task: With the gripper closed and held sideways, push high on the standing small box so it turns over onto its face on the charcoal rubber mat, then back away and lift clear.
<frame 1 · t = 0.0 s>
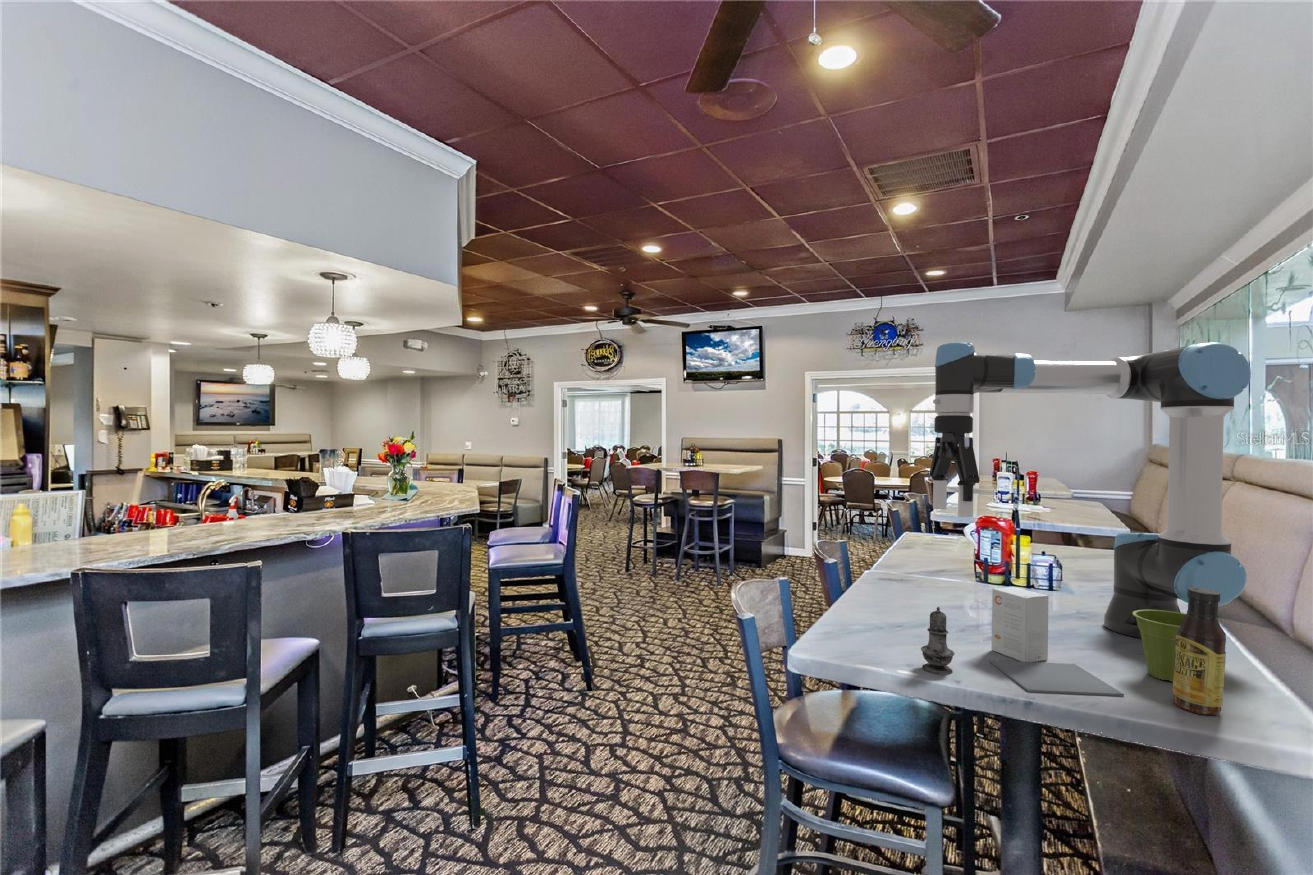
hand: (951, 513, 133), 28 cm above the table, tool pointing down, fingers open, 13 cm apart
sauce bottle: (1197, 710, 101), on the table
rubber mat: (1052, 678, 113), on the table
small box: (1018, 656, 125), on the table
salt shaker: (937, 670, 117), on the table
plant pot: (1171, 678, 115), on the table
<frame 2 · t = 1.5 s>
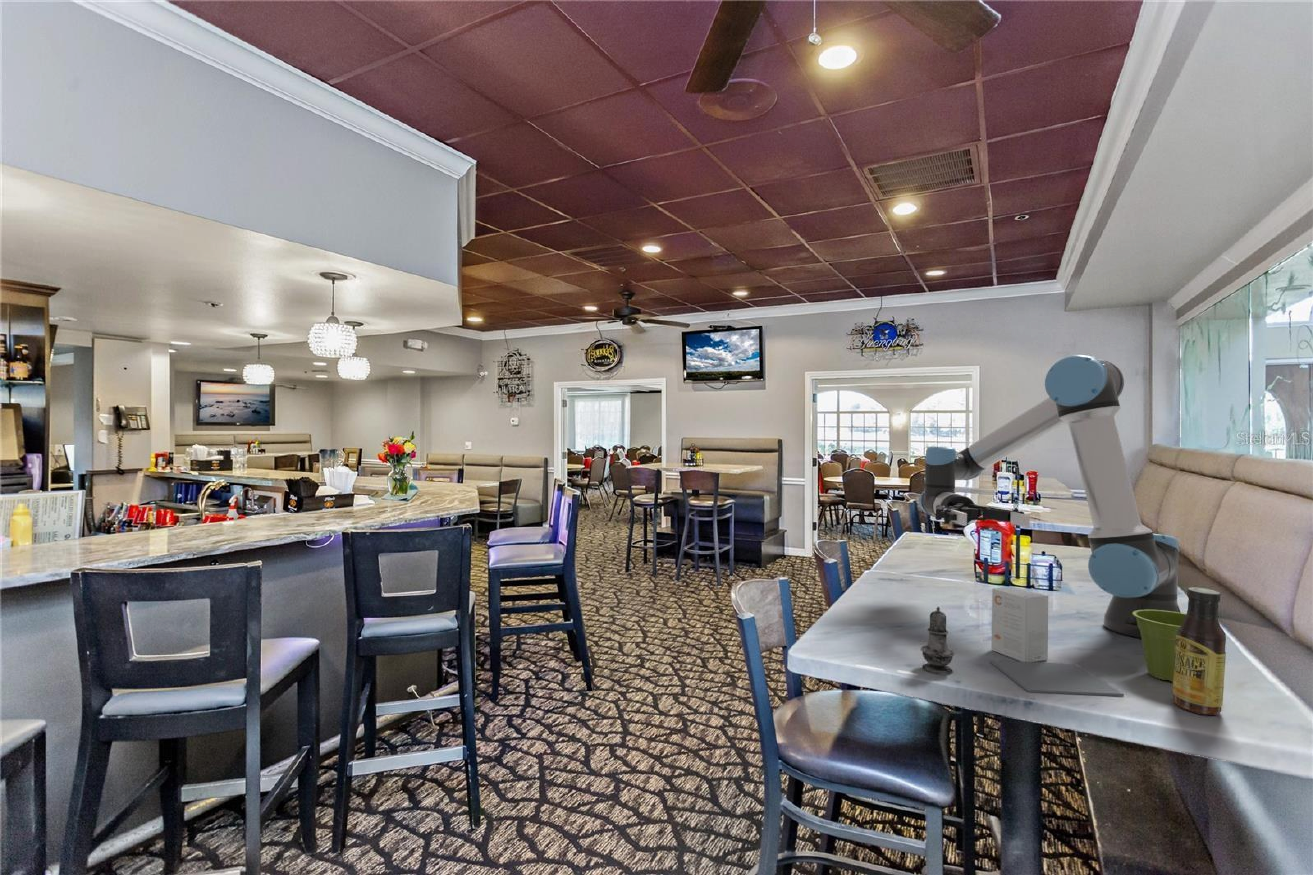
hand: (996, 520, 136), 26 cm above the table, tool horizontal, fingers open, 13 cm apart
nothing on the table moved.
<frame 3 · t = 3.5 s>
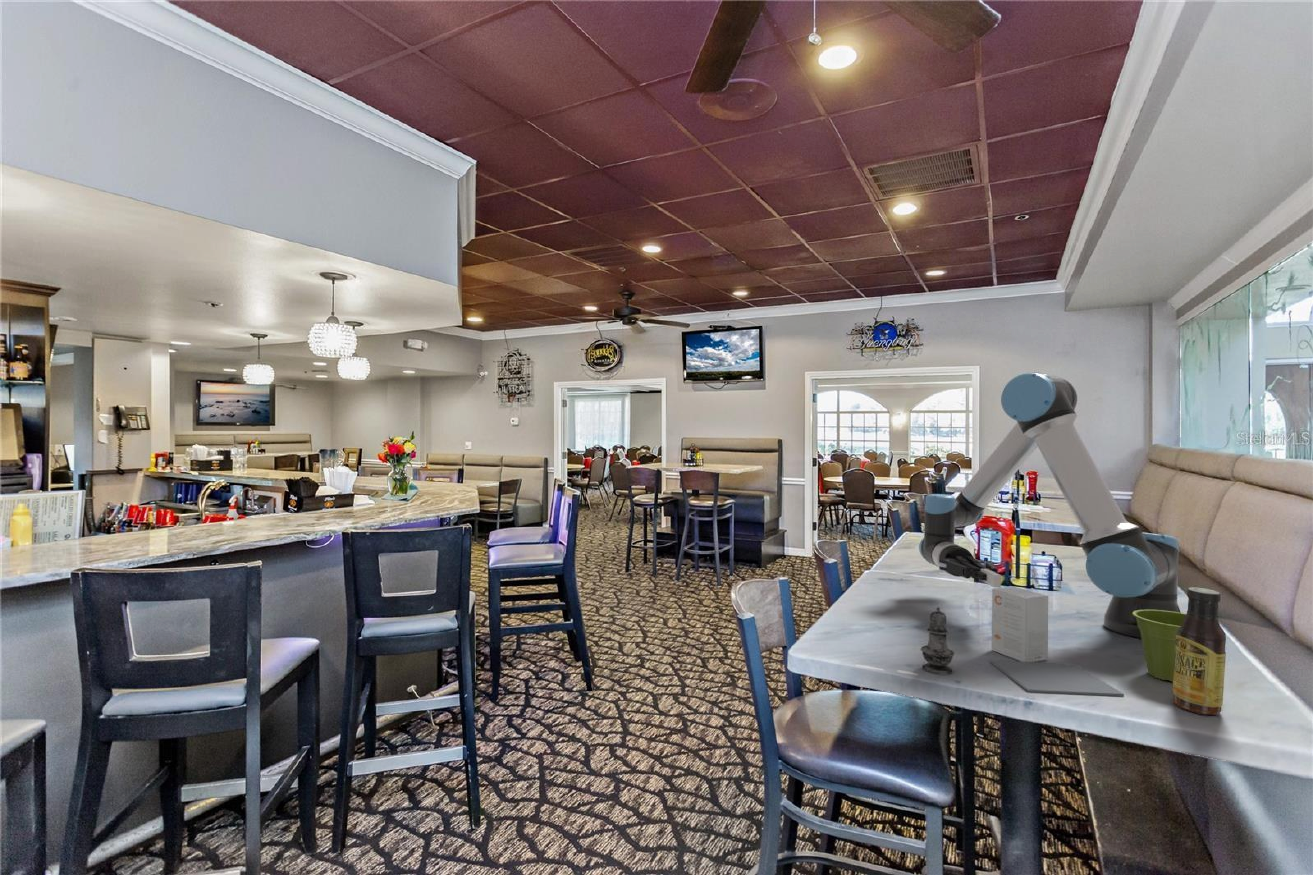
hand: (997, 581, 135), 13 cm above the table, tool horizontal, fingers closed
nothing on the table moved.
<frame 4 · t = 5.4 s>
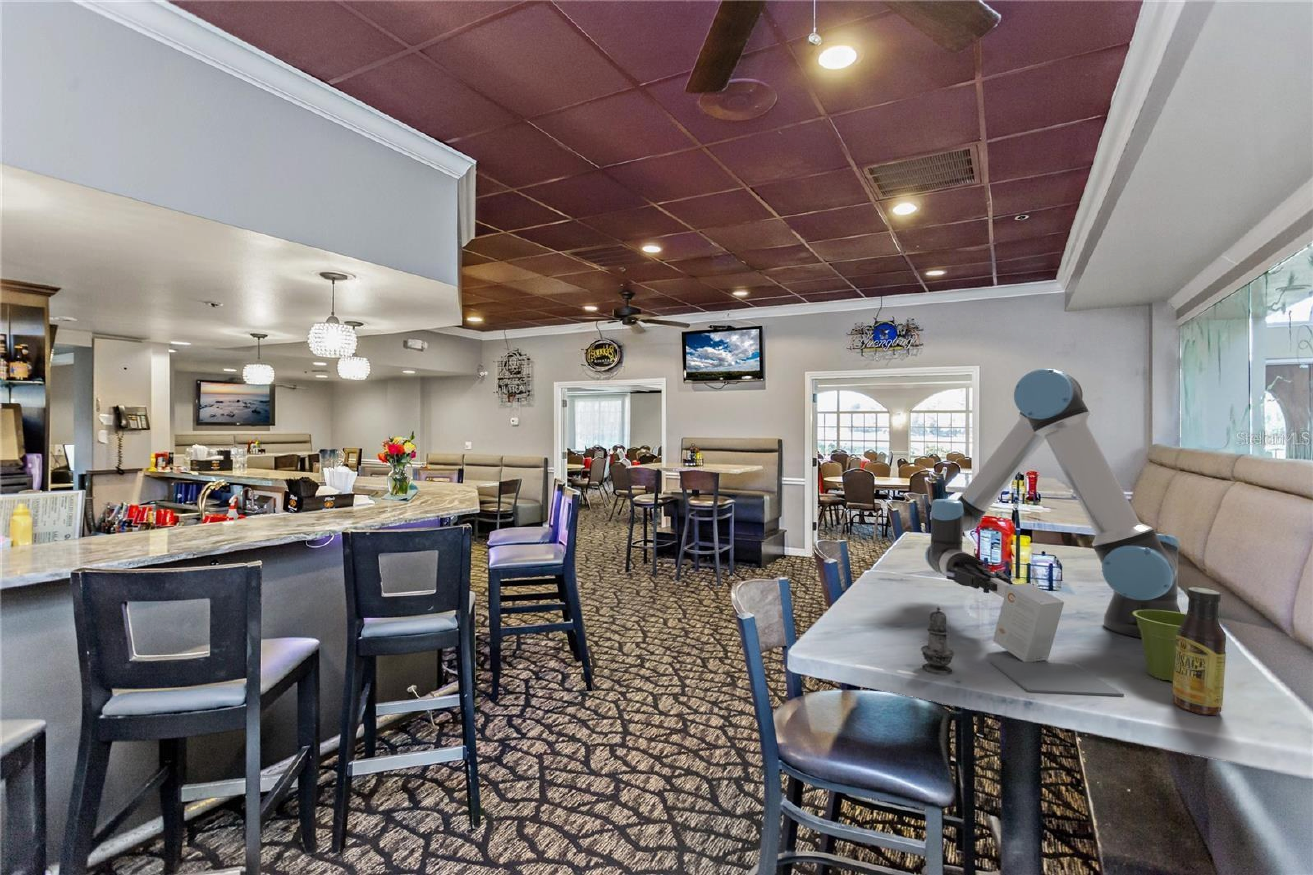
hand: (1008, 592, 127), 13 cm above the table, tool horizontal, fingers closed
small box: (1019, 651, 125), point 1 cm above the table, touching gripper
everything else where it was.
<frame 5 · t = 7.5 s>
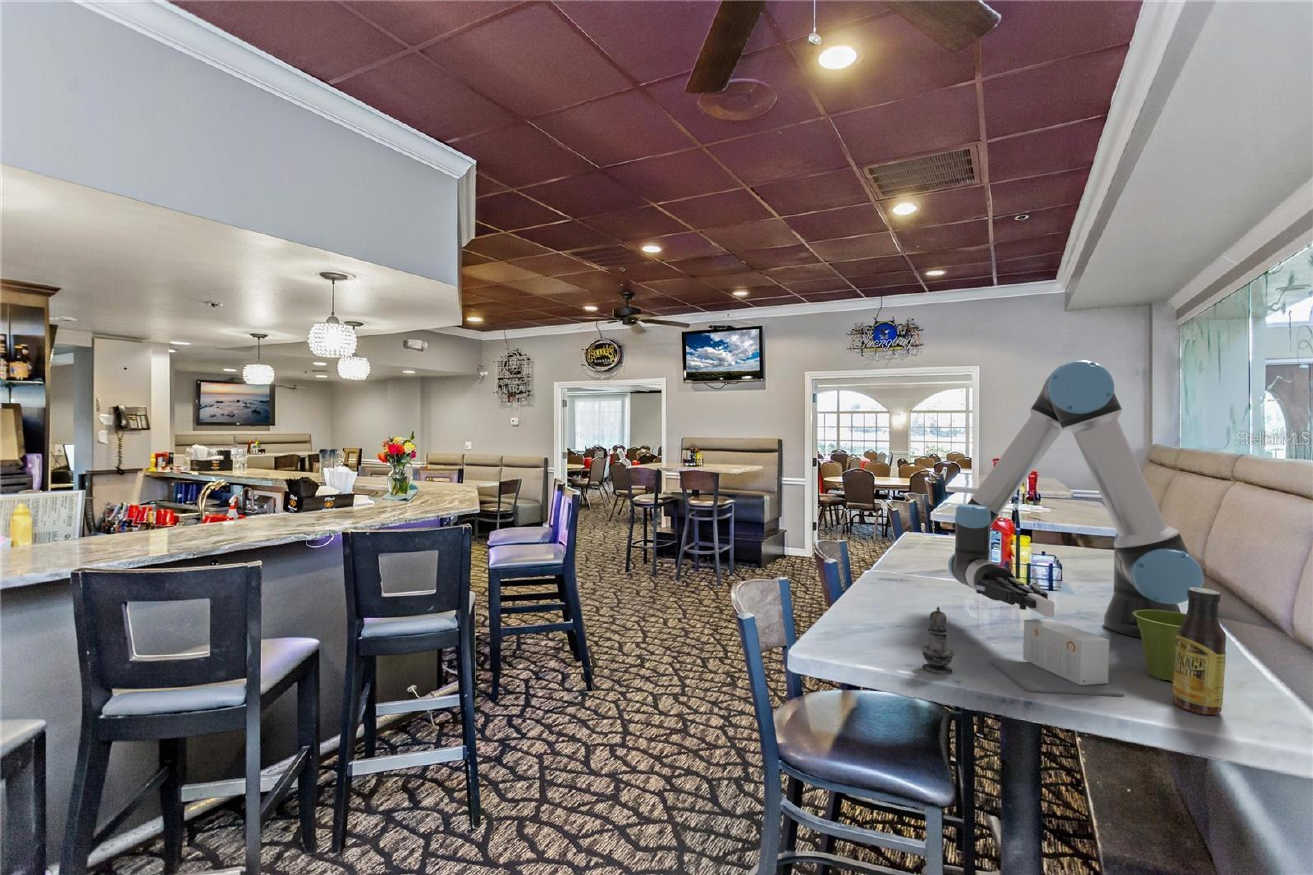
hand: (1050, 609, 114), 12 cm above the table, tool horizontal, fingers closed
small box: (1035, 638, 122), point 4 cm above the table, touching rubber mat
everything else where it was.
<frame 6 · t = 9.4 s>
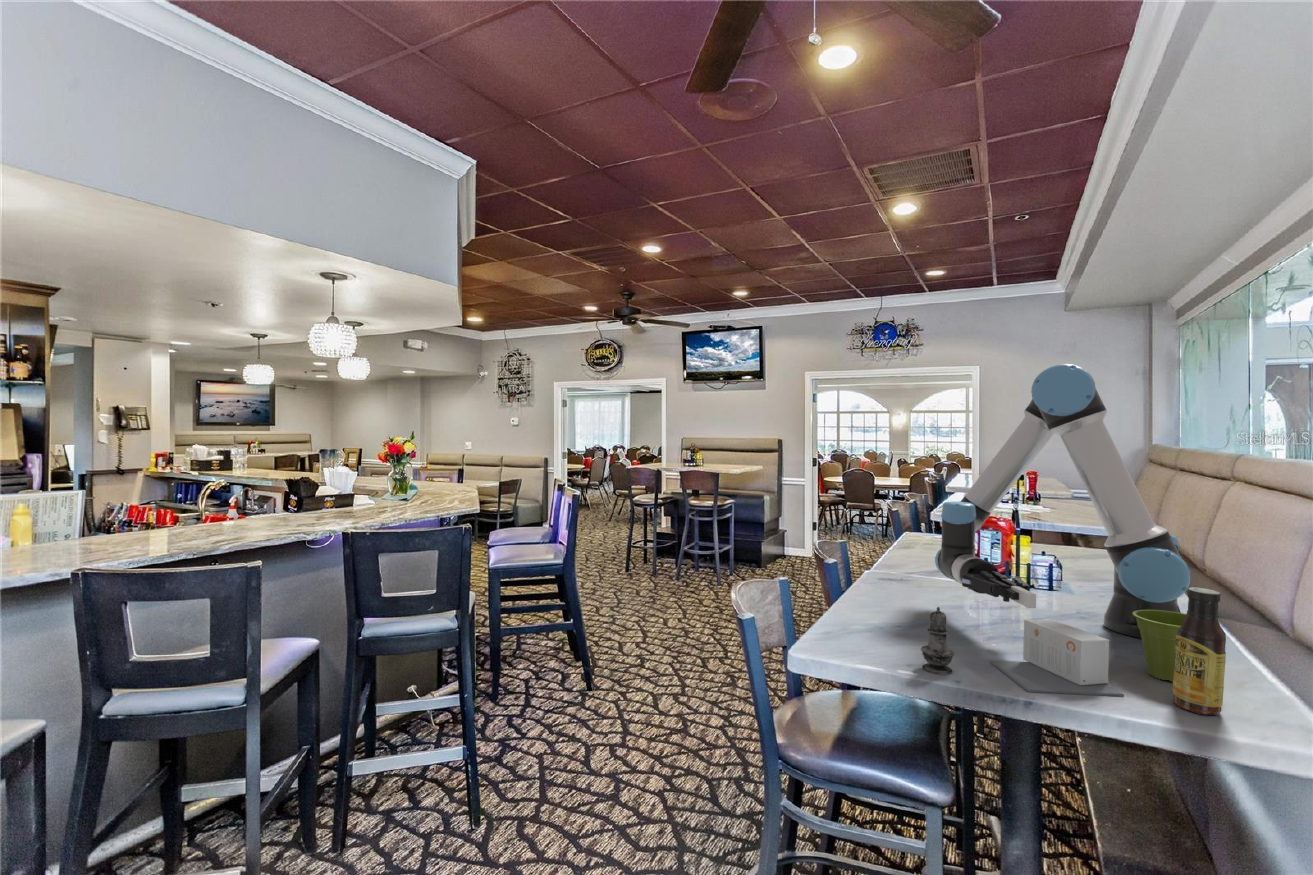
hand: (1032, 601, 119), 13 cm above the table, tool horizontal, fingers closed
nothing on the table moved.
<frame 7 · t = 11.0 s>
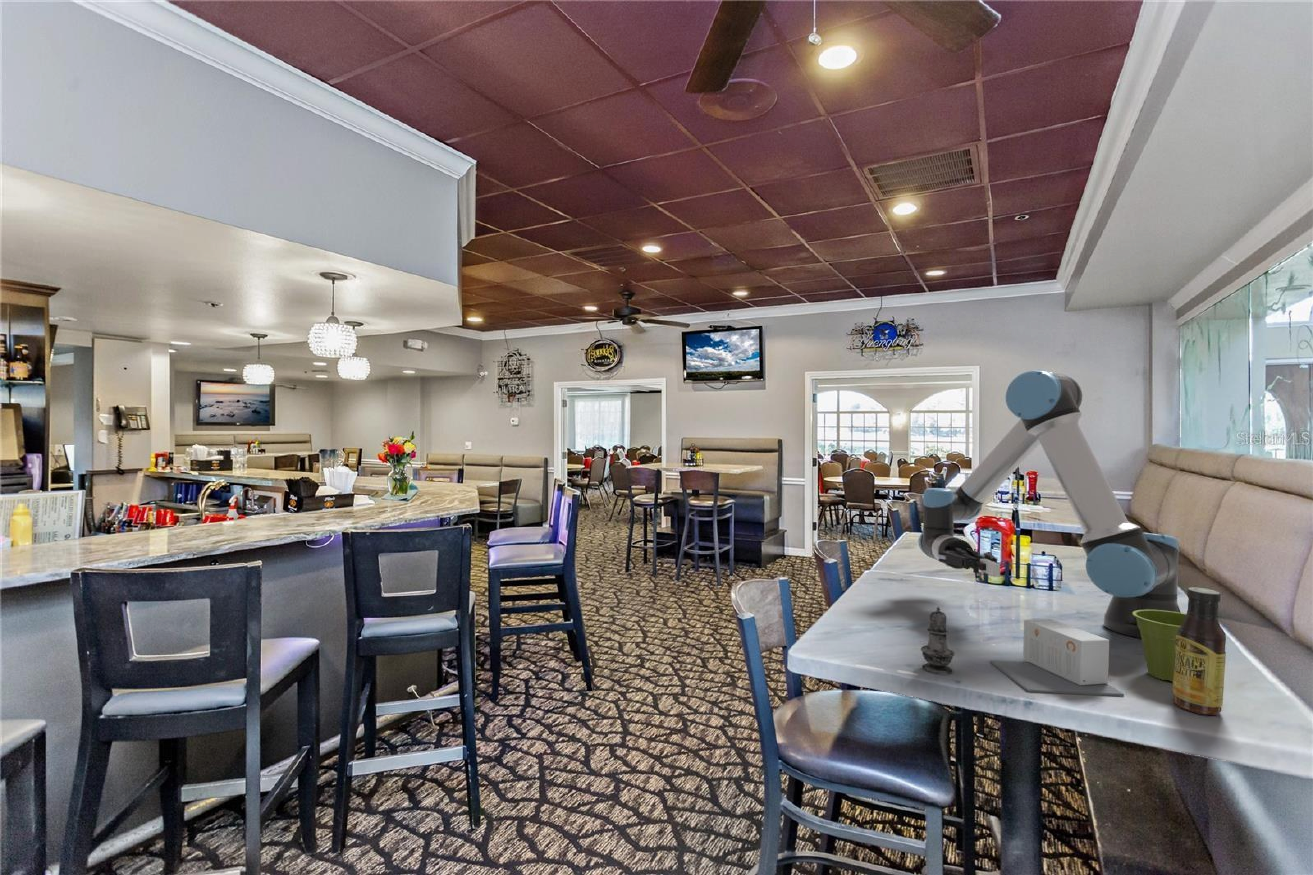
hand: (996, 570, 135), 15 cm above the table, tool horizontal, fingers closed
nothing on the table moved.
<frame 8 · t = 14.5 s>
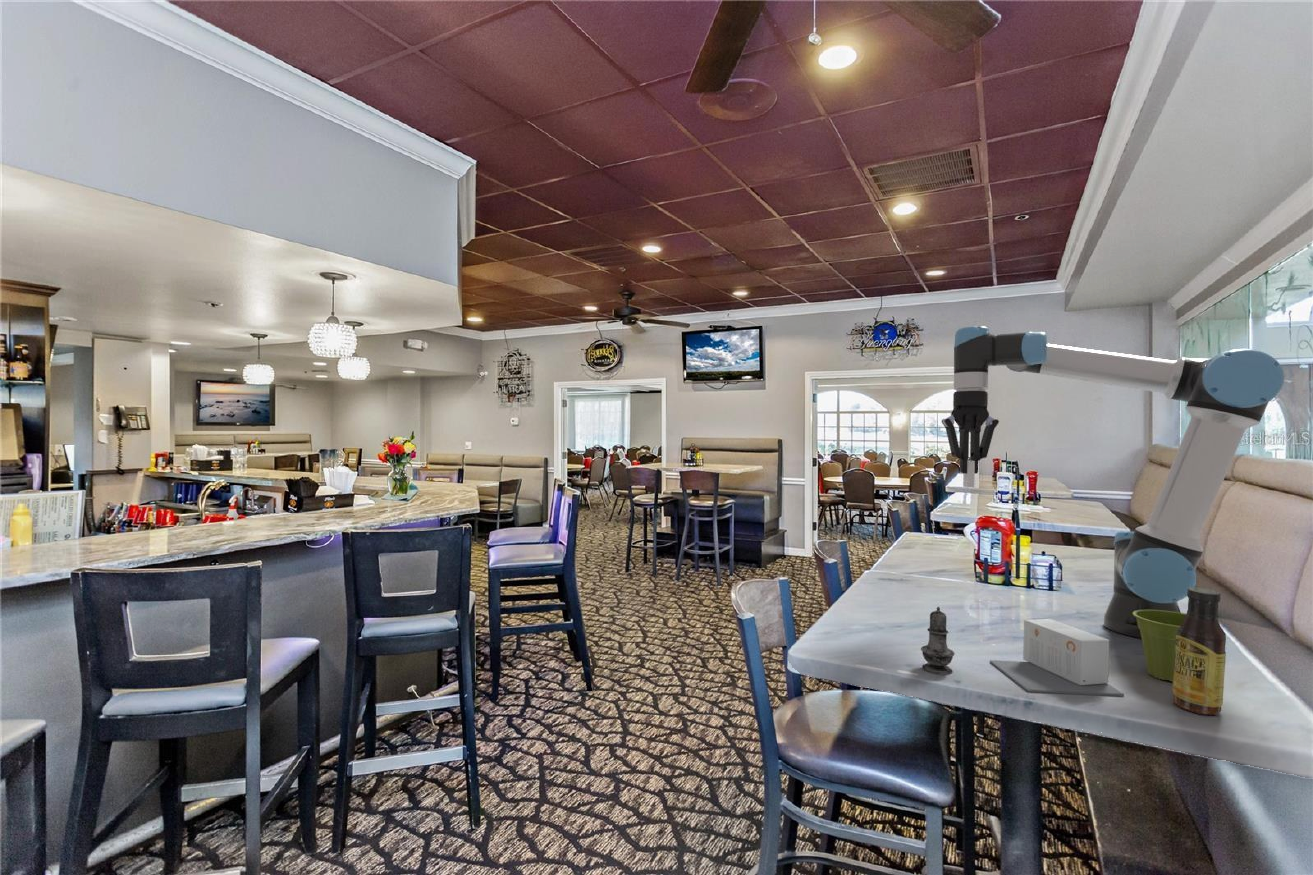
hand: (968, 486, 150), 32 cm above the table, tool pointing down, fingers closed
nothing on the table moved.
at the end: small box tilted 90°; small box touching rubber mat; small box 9.2 cm from the rubber mat (horizontally) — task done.
